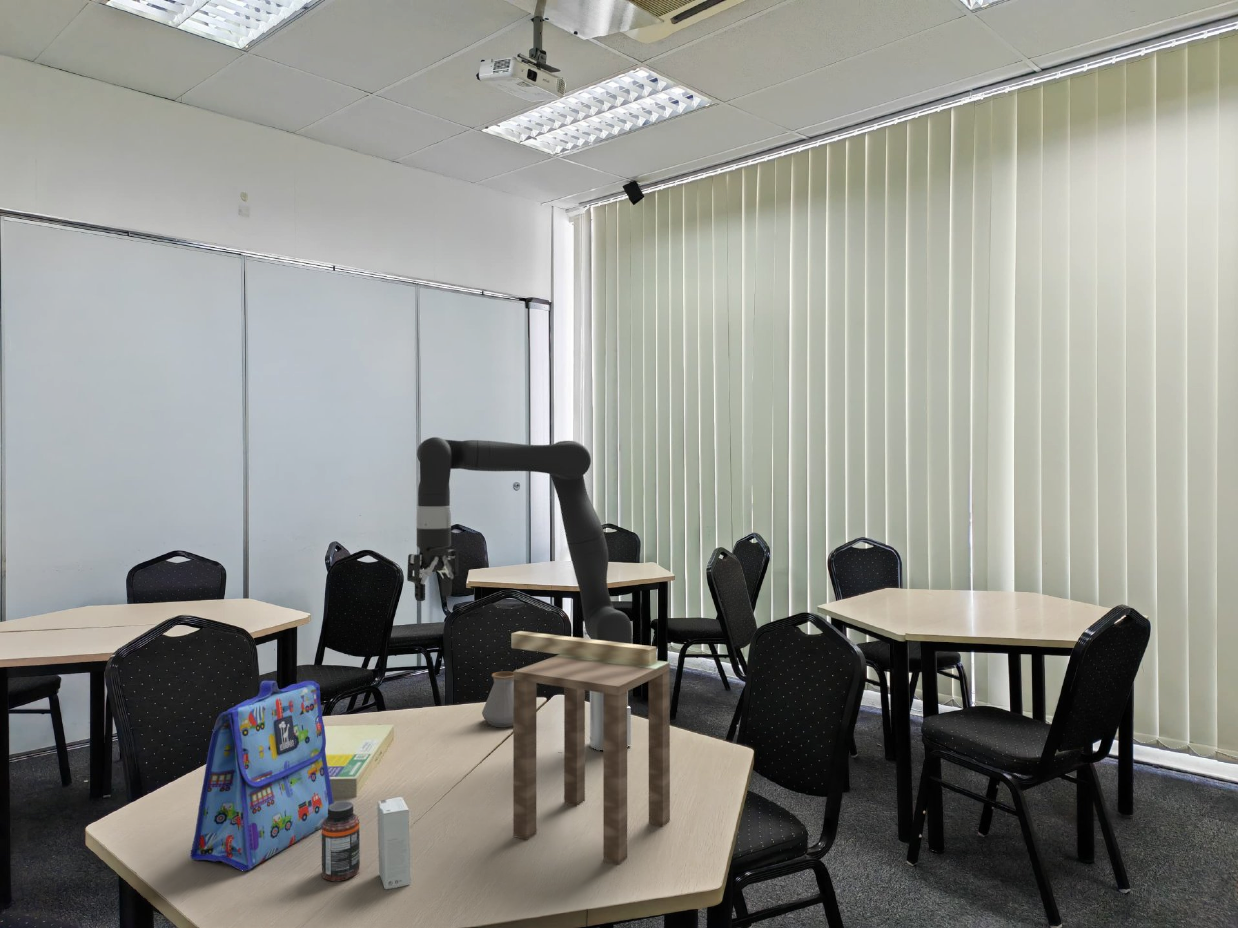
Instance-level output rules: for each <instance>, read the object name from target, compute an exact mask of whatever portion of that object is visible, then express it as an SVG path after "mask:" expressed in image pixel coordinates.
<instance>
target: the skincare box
mask: <svg viewBox="0 0 1238 928" xmlns="http://www.w3.org/2000/svg"><path fill="white" fill-rule="evenodd" d="M376 809H377V836H378V838H377V839H378V843H377V844H378V872H379V873H378V874H379V876H380V879H381V882H382V884H383V888H384V889H385V890H391V889H396V888H401V887H405V886H408V885H411V880H412V879H411V847H410V846H411V843H410V809H409V807H408V805H407V804H406V801H404V798H403V796H399V797H393V798H389V799H383V800H379V801H377V808H376Z"/></svg>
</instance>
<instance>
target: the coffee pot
mask: <svg viewBox="0 0 1238 928" xmlns="http://www.w3.org/2000/svg"><path fill="white" fill-rule="evenodd" d="M491 677H492V678H493V684H492V687H491V690H490V692H489V694H488V697H487V699H486V702H485V704H484V706H483V709H482V712H481V715H482V717H483V719H484V721H486V722H487V723H488V724H489V725H490V726H492V727H496V728H506V727H507V728H508V727H513V705H514V671H497V672H493V673H492V674H491Z"/></svg>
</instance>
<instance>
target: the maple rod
mask: <svg viewBox="0 0 1238 928" xmlns="http://www.w3.org/2000/svg"><path fill="white" fill-rule="evenodd" d="M510 634H511V636H510V638H511V641H510V642H511V649H518V650H524V651H532V652H540V653H548V654H554V655H556V654H557V655H560V654H562V655H569V656H577V657H585V658H593V659H600V660H608V661H616V662H624V663H631V664H639V665H647V666H650V665H652V664H654V663H657V662H656V660H657V646H654V645H653V646H652V645H644V644H643V645H642V644H636V643H635V644H634V643H632V644H628V643H619V642H611V641H602V640H594V639H591V638H583V637H577V636H576V637H575V636H566V635H557V634H549V633H543V632H542V633H540V632H531V631H523V630H519V631H516V632H511V633H510Z"/></svg>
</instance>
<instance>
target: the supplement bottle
mask: <svg viewBox="0 0 1238 928" xmlns="http://www.w3.org/2000/svg"><path fill="white" fill-rule="evenodd" d="M354 811H355V809H354V803H353V802H352V801H350V800H339V801H335V802H334V801H333V803H332V804H330V805H329V806H328V817H327V818H326V819H325V820H324V821H323V823H322V827H321V875H322V878H324V879H325V880H327V881H331V882H342V881H346V880H348V879H350V878H352V877H354V876H356V875H357V874H358V873H359V870H360V864H361V863H360V862H361V861H360V850H361V849H360V848H361V847H360V846H361V845H360V843H361V842H360V841H361V840H360V836H361V835H360V831H361V830H360V818H359V816H358V815H357V814H356V813H354Z"/></svg>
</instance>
